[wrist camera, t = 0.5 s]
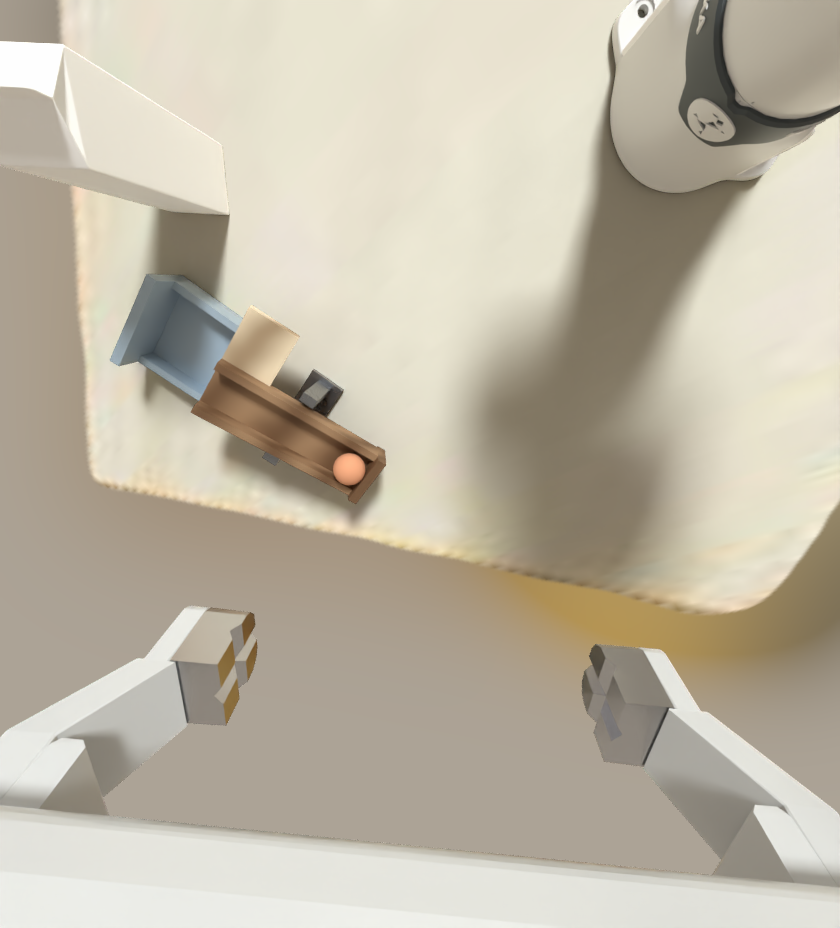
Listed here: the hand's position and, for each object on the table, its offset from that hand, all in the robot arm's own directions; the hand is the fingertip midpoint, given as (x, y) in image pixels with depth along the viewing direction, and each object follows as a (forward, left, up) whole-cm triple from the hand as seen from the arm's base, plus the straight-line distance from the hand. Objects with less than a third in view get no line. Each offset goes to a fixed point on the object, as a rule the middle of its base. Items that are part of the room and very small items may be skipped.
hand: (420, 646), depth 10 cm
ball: (+14, -1, -35) cm, 38 cm away
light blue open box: (+14, -23, -41) cm, 49 cm away
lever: (+11, -9, -37) cm, 40 cm away
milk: (0, -30, -41) cm, 51 cm away
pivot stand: (+14, -9, -41) cm, 44 cm away
